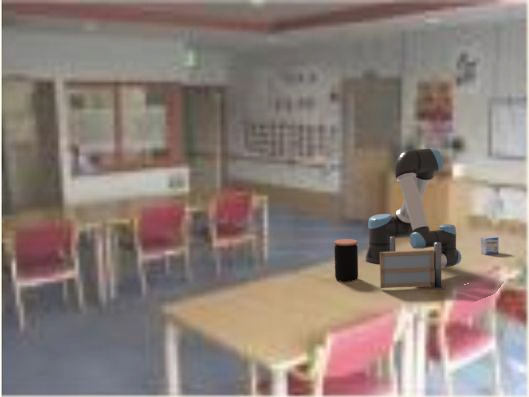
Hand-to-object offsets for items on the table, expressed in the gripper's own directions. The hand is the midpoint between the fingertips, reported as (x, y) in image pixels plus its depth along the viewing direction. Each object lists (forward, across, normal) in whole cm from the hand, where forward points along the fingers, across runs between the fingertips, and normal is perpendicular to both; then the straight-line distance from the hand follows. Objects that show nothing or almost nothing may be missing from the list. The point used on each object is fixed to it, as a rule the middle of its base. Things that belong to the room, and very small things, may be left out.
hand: (398, 270), depth 305 cm
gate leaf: (-2, -3, -7) cm, 8 cm away
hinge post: (-13, -11, -8) cm, 19 cm away
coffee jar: (+5, +28, -8) cm, 30 cm away
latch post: (-13, +16, -8) cm, 22 cm away
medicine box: (-84, +14, -8) cm, 85 cm away
